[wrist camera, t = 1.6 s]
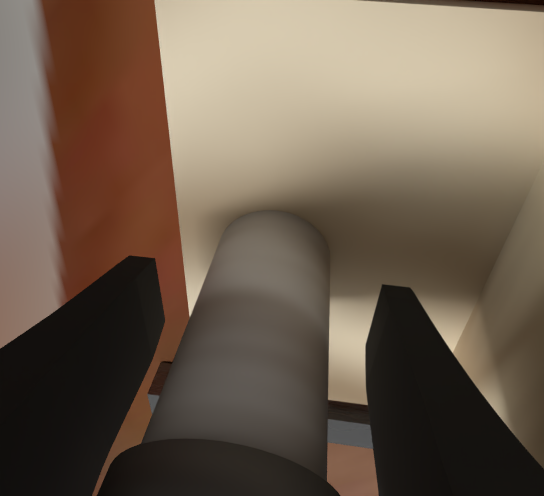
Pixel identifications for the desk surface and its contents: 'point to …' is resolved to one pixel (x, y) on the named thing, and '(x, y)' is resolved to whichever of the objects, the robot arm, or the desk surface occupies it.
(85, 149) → the desk surface
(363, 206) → the clamp jaw
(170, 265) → the desk surface
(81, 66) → the desk surface
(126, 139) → the desk surface
